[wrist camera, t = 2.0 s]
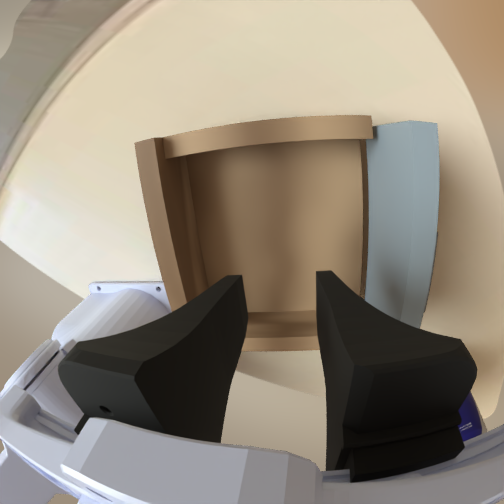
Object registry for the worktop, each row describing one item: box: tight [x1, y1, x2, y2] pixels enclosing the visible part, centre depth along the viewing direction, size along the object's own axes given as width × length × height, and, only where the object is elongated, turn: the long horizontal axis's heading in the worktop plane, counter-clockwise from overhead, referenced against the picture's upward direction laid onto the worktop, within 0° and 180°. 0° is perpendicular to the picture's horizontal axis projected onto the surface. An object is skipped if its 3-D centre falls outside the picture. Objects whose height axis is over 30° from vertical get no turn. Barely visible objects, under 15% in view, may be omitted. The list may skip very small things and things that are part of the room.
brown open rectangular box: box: [135, 115, 373, 351], centre depth 17 cm, size 12×14×6 cm
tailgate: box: [365, 121, 439, 329], centre depth 13 cm, size 2×13×7 cm, turn 6°
